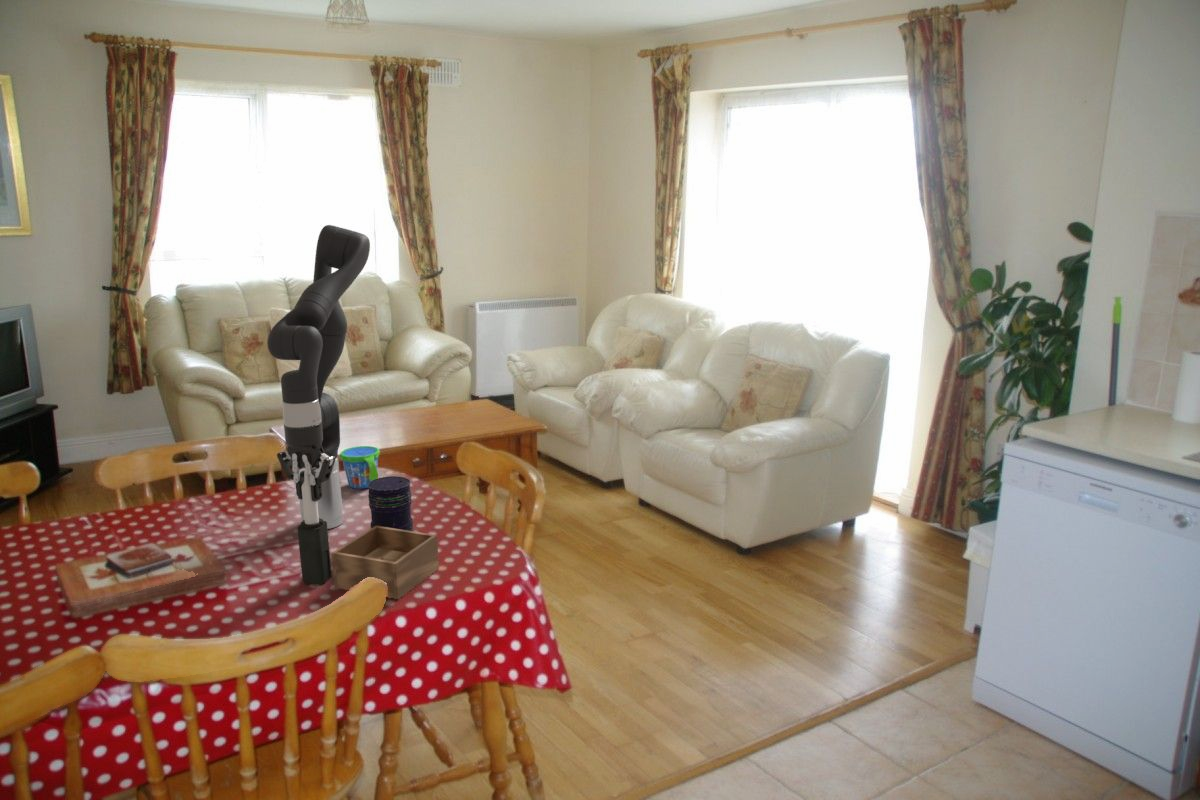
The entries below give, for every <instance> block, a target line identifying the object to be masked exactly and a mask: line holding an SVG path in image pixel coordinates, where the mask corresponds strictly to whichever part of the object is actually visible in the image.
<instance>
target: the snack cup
mask: <svg viewBox="0 0 1200 800" xmlns="http://www.w3.org/2000/svg"><path fill="white" fill-rule="evenodd" d="M380 454H381V451H380V450H379V448H378V447H376V446H370V445H360V446H354V447H349V448H346V449H344V450H342V451H340V453H339V458H340V459H341V461H342V463H343V468H344V473H345V477H346V480H347V483H348V486H349V487H350V488H352V489H354V490H363V489H368V484H369V482H371V481H372V480H375V479H378V477H379V473H378V463H379V461H378V460H379V457H380Z"/></svg>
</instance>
